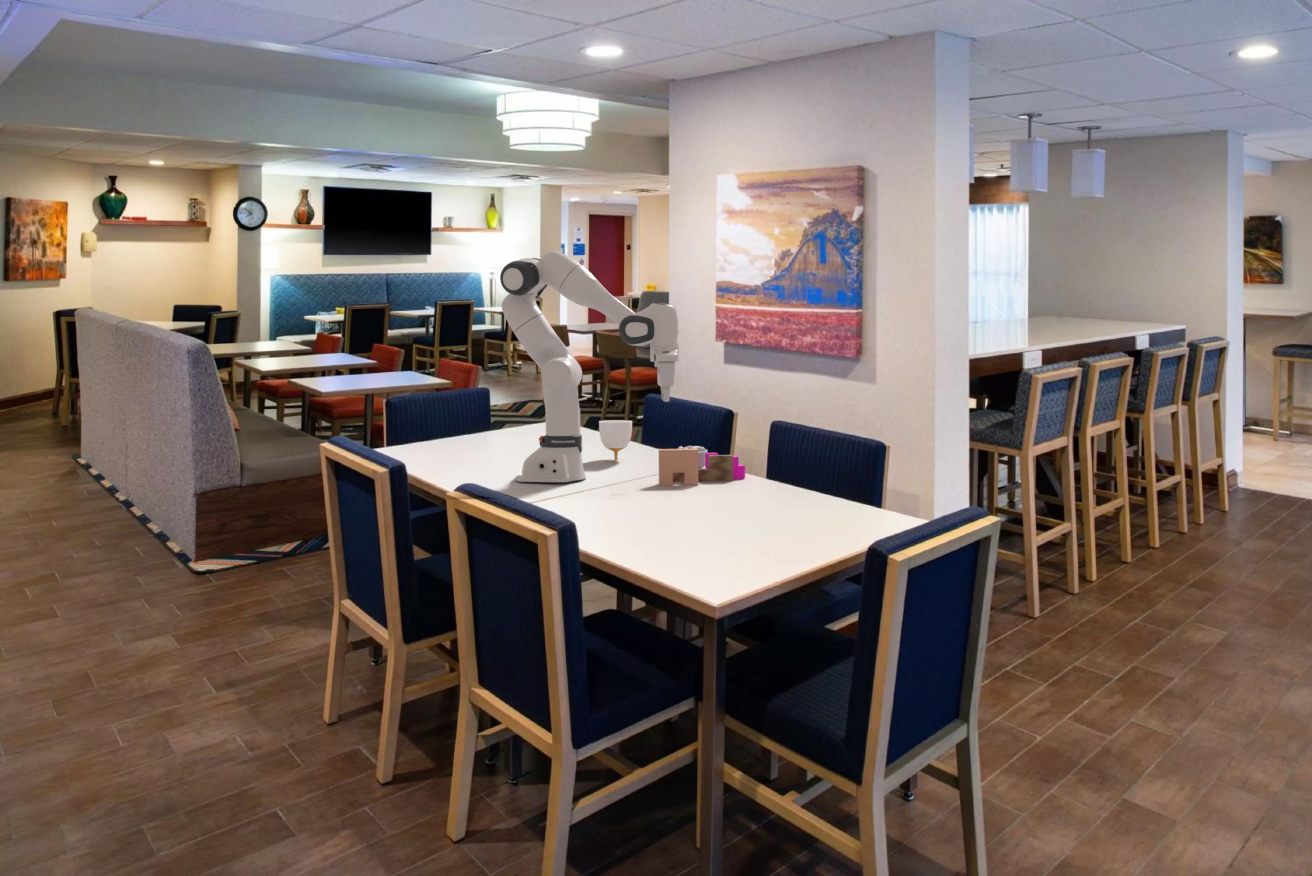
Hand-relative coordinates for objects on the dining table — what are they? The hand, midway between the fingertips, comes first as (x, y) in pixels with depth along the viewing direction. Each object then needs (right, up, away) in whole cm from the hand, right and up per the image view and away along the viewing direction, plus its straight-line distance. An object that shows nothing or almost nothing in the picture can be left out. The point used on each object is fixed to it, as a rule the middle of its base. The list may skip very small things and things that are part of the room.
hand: (665, 400), depth 299 cm
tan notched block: (+4, -26, +2) cm, 26 cm away
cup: (-17, -23, +43) cm, 52 cm away
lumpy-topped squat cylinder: (+9, -23, +36) cm, 44 cm away
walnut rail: (+12, -25, +11) cm, 30 cm away
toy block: (+20, -25, +21) cm, 38 cm away
